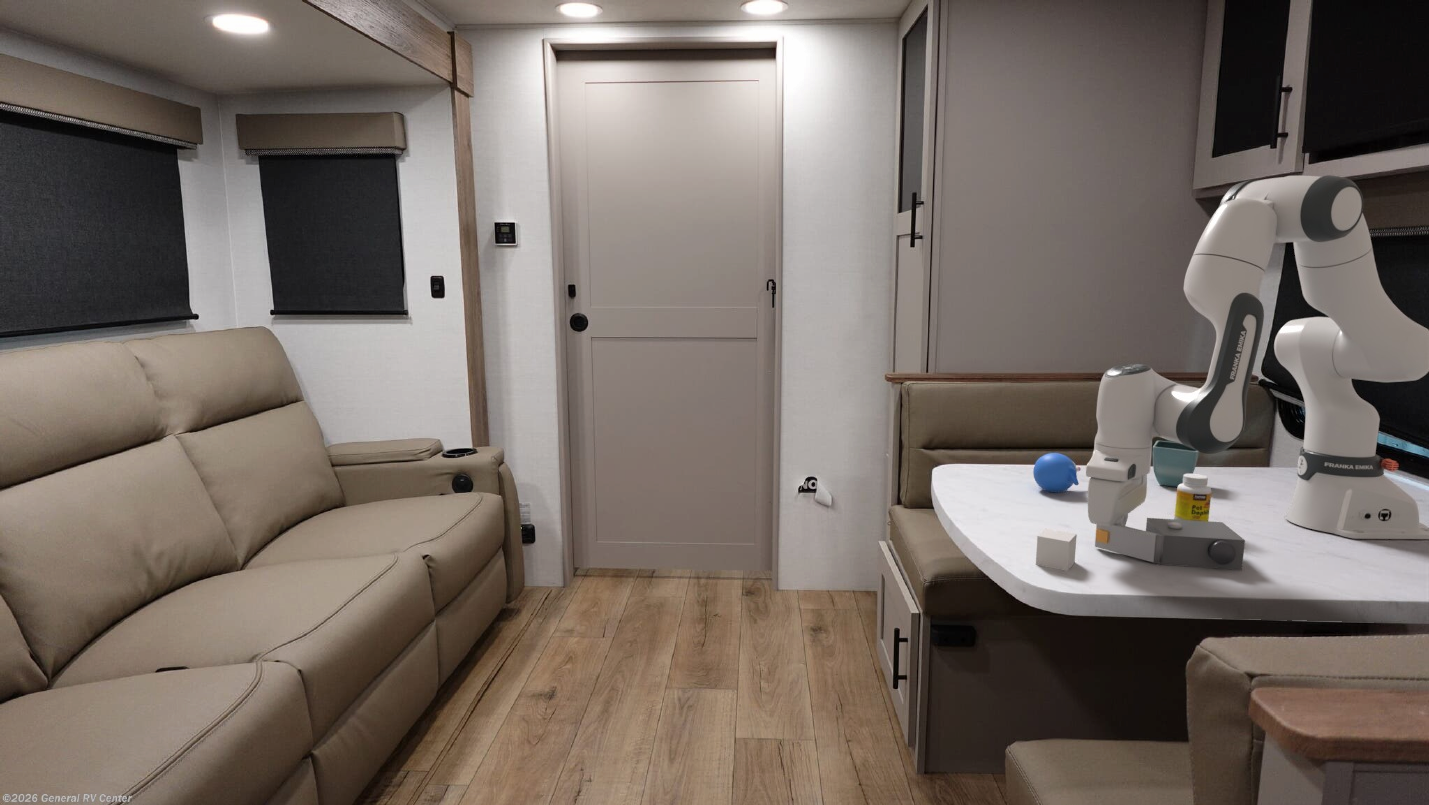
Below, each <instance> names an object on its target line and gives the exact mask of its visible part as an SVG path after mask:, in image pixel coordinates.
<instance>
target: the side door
mask: <svg viewBox="0 0 1429 805" xmlns="http://www.w3.org/2000/svg"><path fill="white" fill-rule="evenodd" d="M1094 543H1095V544H1094V547H1095V548H1099V549H1102V550H1106V551H1110V552H1113V553H1116V554H1121V555H1125V556H1128V557H1133V558H1136V559H1139V560H1144V561H1148V562H1151V563H1155V564H1161V563H1160V559H1161V548H1162V535H1159V534H1156V533H1151V532H1147V531H1146V530H1143V529H1138V528H1134V527H1130V526H1126V525H1125V526H1122V525H1118V524H1113V525H1112V526H1103V525H1098V524H1096V529H1095V541H1094Z"/></svg>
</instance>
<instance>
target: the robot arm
mask: <svg viewBox="0 0 1429 805" xmlns="http://www.w3.org/2000/svg"><path fill="white" fill-rule="evenodd" d="M1364 203H1365V202H1364V196H1363V193H1362V191H1361V189H1360V188H1359V187H1358V186H1357V184H1356V183H1355V182H1354V181H1353V180H1352V179H1349V178H1348V177H1347V178H1346V177H1342V176H1338V175H1328V174H1327V175H1323V176H1319V175H1318V176H1317V175H1287V176H1284V177H1283V176H1281V177H1273V178H1265V179H1254V178H1253V179H1249V180H1245V181H1242V182H1239V183H1237V184H1235V185H1233V186H1231V187H1230V188H1229V190H1228V191H1227V192H1226V193H1225V194H1224V196H1223V197H1222V198H1221V200H1220V203H1219V205H1218V208H1217V209H1216V211H1214V213H1213V215H1212V216H1211V218H1210V219H1209V221H1208V223H1207V225H1206V227H1205V228H1204V230H1203V232H1202V234H1201V236H1200V238H1199V240H1198V241H1197V244H1196V247H1195V248H1194V249H1195V250H1194V252H1193V254H1192V256H1191V259H1190V261H1189V264H1188V267H1187V268H1186V272H1185V276H1184V282H1183V292H1184V295H1185V298H1186V299H1187V301H1188V303H1189V305H1190V306H1192V308H1193V309H1194V310H1195V311H1196V312H1198V313H1199V314H1200V315H1201V316H1203V317H1205V318H1206V319H1207V320H1208V321H1209V322H1210V323H1211V324H1212V325H1213V327H1214V329H1215V332H1216V333H1215V335H1216V336H1215V337H1216V338H1215V344H1214V349H1213V351H1212V352H1213V353H1212V357H1211V362H1210V366H1209V369H1208V374H1207V377H1206V379H1205V380H1206V381H1205V382H1204V384H1203V385H1202V386H1201V387H1200V388H1199V387H1194V386H1189V385H1187V384H1183V383H1177V382H1176V381H1173V380H1170V379H1168V378H1166V377H1164V376H1161V375H1160V374H1159V373H1157V372H1156V371H1154V370H1153V368H1152V366H1149V365H1147V364H1141V363H1140V364H1139V363H1132V364H1120V365H1116V366H1114V367H1111V368H1109V369H1108V370H1106V371H1105V372H1104V373H1103V376H1102V377H1101V381H1100V382H1099V388H1098V393H1097V400H1096V414H1095V415H1096V422H1097V433H1096V434H1095V438H1094V445H1093V446H1094V447H1093V451H1092V455H1091V458H1090V460H1089V461H1088V462H1087V464H1086V467H1085V476H1086V477H1087V478H1089V481H1088V484H1087V516H1088V520H1089V522H1090V523H1091V524H1095V525H1097V524H1098V525H1103V526H1112V525H1113V524H1118V525H1122V526H1126V525H1127V521H1128V517H1129V514H1130V513H1132V512H1133V511H1134V510H1135V509H1137V508H1138V507H1139V506H1141V505H1143V504H1144V503H1145V501H1146V498H1147V491H1148V490H1147V489H1148V475H1149V474H1150V473H1151V464H1152V454H1153V439H1154V438H1156V437H1157V438H1158V437H1159V438H1162V439H1165V441H1168V442H1176V443H1180V444H1183V445H1185V446H1187V447H1190V448H1192V449H1194V450H1197V451H1199V453H1201V454H1205V455H1213V454H1214V455H1215V454H1219V453H1221V452H1223V451H1226V450H1227V449H1228V448H1230V447H1232V445H1234V444H1235V443H1236V442H1237V441H1238V440H1239V439H1240V437H1241V436H1242V434H1243V432H1244V430H1245V426H1246V417H1247V416H1246V415H1247V400H1248V399H1247V397H1248V392H1249V388H1250V383H1251V380H1252V376H1253V372H1254V367H1255V362H1256V357H1257V354H1258V349H1259V346H1260V341H1261V337H1262V333H1263V332H1262V331H1263V326H1264V319H1265V312H1264V311H1265V310H1264V305H1263V303H1262V301H1261V300H1260V294H1261V286H1262V281H1263V279H1264V275H1265V273H1266V270H1267V268H1268V264H1269V262H1270V260H1271V255H1272V252H1273V249H1274V245H1275V244H1285V243H1293V249H1294V250H1293V251H1294V255H1295V256H1294V258H1295V262H1296V267H1297V271H1298V277H1299V282H1300V286H1301V287H1300V288H1301V291H1302V296H1303V298H1304V300H1305V301H1306V302H1307V304H1308V305H1309V306H1311V307H1312V308H1313V309H1315V310H1317V311H1318V312H1320V313H1322V314H1324V315H1325V316H1313V317H1304V318H1298V319H1297V318H1295V319H1292V320H1289V321H1287V322H1286V323H1285V324H1284V325H1283V326H1282V327H1280V329H1279V330H1278V332H1277V334H1276V335H1275V339H1274V344H1273V349H1274V351H1273V352H1274V355H1275V357H1276V359H1277V361H1278V363H1279V364H1280V365H1281V366H1282V367H1283V368H1285V369H1286V370H1287V371H1288V372H1289V373H1290V374H1291V375H1292V377H1293V378H1294V380H1295V381H1296V383H1297V385H1298V388H1299V389H1300V391H1301V394H1302V397H1303V401H1304V408H1305V420H1304V421H1305V422H1304V437H1303V445H1302V447H1300V449H1299V456H1298V458H1297V482H1296V486H1295V490H1294V494H1293V496H1292V499H1291V502H1290V504H1289V507H1288V508H1287V509H1288V510H1287V511H1286V513H1285V515H1284V518H1285V519H1286V520H1287V521H1289V522H1290V523H1292V524H1295V525H1298V526H1300V527H1303V528H1307V529H1309V530H1311V529H1312V530H1315V531H1319V532H1325V533H1329V534H1334V535H1338V536H1341V537H1345V538H1350V539H1355V540H1356V539H1357V540H1360V539H1361V540H1364V539H1365V540H1389V539H1390V540H1429V527H1428V526H1427V525H1424V524H1423V523H1421V522H1420V511H1419V506H1418V504H1417V502H1416V500H1415V499H1414V497H1413V496H1411V495H1410V494H1408V493H1407V492H1406V491H1405V490H1404V489H1402V488H1401V487H1400V486H1398V485H1397V484H1396V483H1394V482H1393V481H1392V480H1391V479H1390V478H1389V477H1387V476H1386V475H1385V472H1384V471H1385V470H1387V471H1388V472H1395V471H1396V470H1398V469H1399V463H1398V462H1397V461H1396V460H1392V459H1391V458H1383V457H1381V456H1380V455H1378V454H1376V452H1377V451H1376V450H1377V444H1378V437H1379V430H1380V429H1379V428H1380V420H1381V418H1380V415H1379V412H1378V411H1377V409H1376V407H1375V406H1373V405H1372V404H1371V403H1369V402H1368V401H1366V400H1364V399H1363V398H1361V397H1360V396H1359V394H1357V392H1356V389H1355V388H1354V385H1353V382H1352V381H1353V380H1362V381H1369V382H1379V383H1397V382H1398V383H1399V382H1412V381H1417V380H1420V379H1421V378H1423V377H1424V376H1426V375H1427V374H1428V373H1429V329H1428V328H1426V327H1424V325H1421V324H1419V323H1417V322H1416V321H1414V320H1413V319H1411V318H1410V317H1408V316H1407V315H1405V314H1404V313H1403V312H1402V311H1401V310H1400V309H1399V308H1398V307H1397V306H1396V305H1395V304H1394V303H1393V301H1392V299H1390V297H1389V296H1388V295H1387V293H1386V292H1385V290H1384V288H1383V286H1382V284H1381V280H1380V277H1379V272H1378V270H1377V264H1376V261H1375V255H1374V248H1373V244H1372V240H1371V239H1372V238H1371V235H1370V231H1369V227H1368V224H1367V221H1366V218H1365V216H1364V213H1363V212H1364V205H1365V204H1364ZM1352 379H1353V380H1352Z"/></svg>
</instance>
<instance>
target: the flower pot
mask: <svg viewBox="0 0 1429 805" xmlns="http://www.w3.org/2000/svg"><path fill="white" fill-rule="evenodd" d="M1199 453H1200V452H1199V451H1197V450H1194V449H1192V448H1190V447H1187V446H1185V445H1183V444H1180V443H1176V442H1173V441H1169V440H1156V441H1155V442H1154V444H1153V445H1152V468H1153V474H1154V476H1155V479H1156V482H1157V483H1158V484H1159V485H1161V486H1168V487H1175V488H1176V487H1178V485H1179V484H1182V483H1183V475H1184V474H1194V472H1195V469H1196V467H1197V462H1198V458H1199Z"/></svg>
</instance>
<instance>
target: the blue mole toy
mask: <svg viewBox="0 0 1429 805" xmlns="http://www.w3.org/2000/svg"><path fill="white" fill-rule="evenodd" d="M1081 469H1082V468H1081V467H1080V466H1077V464H1076V463H1075V462H1074V461H1073V460H1072V459H1071V458H1070V457H1068V456H1067V455H1064V454H1062V453H1058V452H1049V453H1046V454H1043V455H1042V456H1040V457H1038V459H1037V460H1036V461H1035V463H1034V466H1033V471H1032V473H1033V478H1034V481H1035V483H1036V484H1037V486H1038V487H1040V488H1041V490H1044V491H1046V492H1049V493H1050V492H1051V493H1061V492H1066V491H1067V490H1069V489H1070V488H1071V487H1072V486H1073V485H1075V486H1078V485H1079V484H1080V482H1079V481H1078V478H1077V477H1078V475H1077V473H1078V472H1080V471H1081Z"/></svg>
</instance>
